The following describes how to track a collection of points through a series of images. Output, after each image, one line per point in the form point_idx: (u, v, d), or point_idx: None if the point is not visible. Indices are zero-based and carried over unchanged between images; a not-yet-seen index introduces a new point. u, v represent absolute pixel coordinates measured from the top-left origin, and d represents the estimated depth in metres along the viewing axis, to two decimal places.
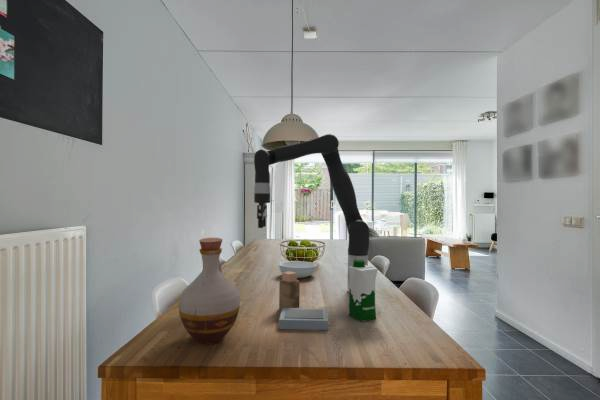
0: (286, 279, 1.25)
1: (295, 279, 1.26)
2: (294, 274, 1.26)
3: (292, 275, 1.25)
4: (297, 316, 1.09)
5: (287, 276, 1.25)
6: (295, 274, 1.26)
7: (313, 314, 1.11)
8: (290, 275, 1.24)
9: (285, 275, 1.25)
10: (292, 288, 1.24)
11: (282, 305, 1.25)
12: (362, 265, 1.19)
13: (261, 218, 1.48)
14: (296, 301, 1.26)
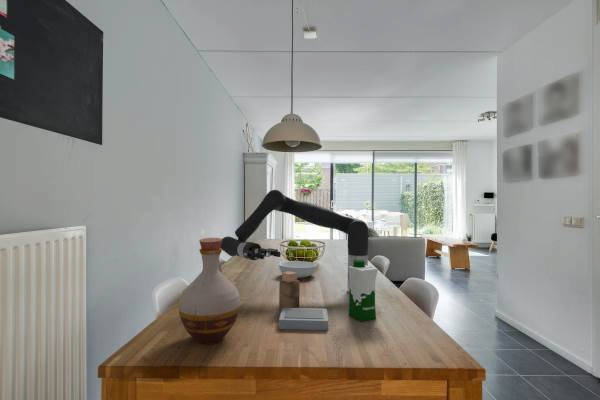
0: (286, 279, 1.25)
1: (295, 279, 1.26)
2: (294, 274, 1.26)
3: (292, 275, 1.25)
4: (297, 316, 1.09)
5: (287, 276, 1.25)
6: (295, 274, 1.26)
7: (313, 314, 1.11)
8: (290, 275, 1.24)
9: (285, 275, 1.25)
10: (292, 288, 1.24)
11: (282, 305, 1.26)
12: (362, 265, 1.19)
13: (252, 253, 1.34)
14: (296, 301, 1.26)
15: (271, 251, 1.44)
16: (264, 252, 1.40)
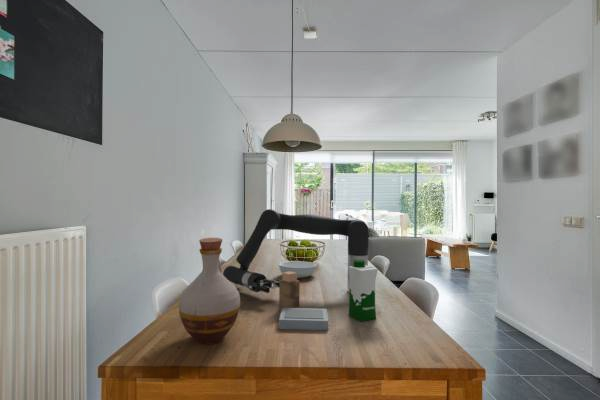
0: (286, 279, 1.25)
1: (295, 279, 1.26)
2: (294, 274, 1.26)
3: (292, 275, 1.25)
4: (297, 316, 1.09)
5: (287, 276, 1.25)
6: (295, 274, 1.26)
7: (313, 314, 1.11)
8: (290, 275, 1.24)
9: (285, 275, 1.25)
10: (292, 288, 1.24)
11: (282, 305, 1.25)
12: (362, 265, 1.19)
13: (257, 287, 1.31)
14: (296, 301, 1.26)
15: None
16: (269, 284, 1.37)
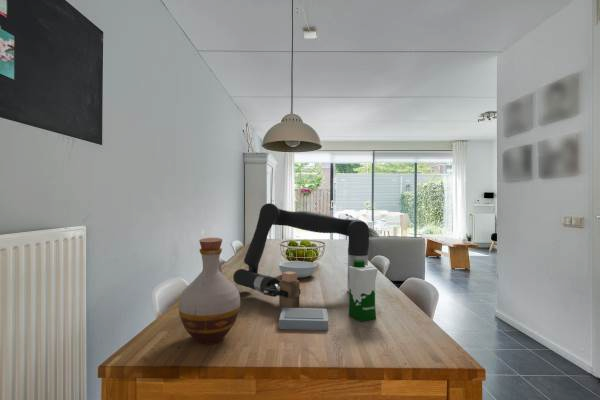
0: (286, 279, 1.25)
1: (295, 279, 1.26)
2: (294, 274, 1.26)
3: (292, 275, 1.25)
4: (297, 316, 1.09)
5: (287, 276, 1.25)
6: (295, 274, 1.26)
7: (313, 314, 1.11)
8: (290, 275, 1.24)
9: (285, 275, 1.25)
10: (292, 288, 1.24)
11: (282, 304, 1.25)
12: (362, 265, 1.19)
13: (275, 291, 1.24)
14: (296, 301, 1.26)
15: None
16: None
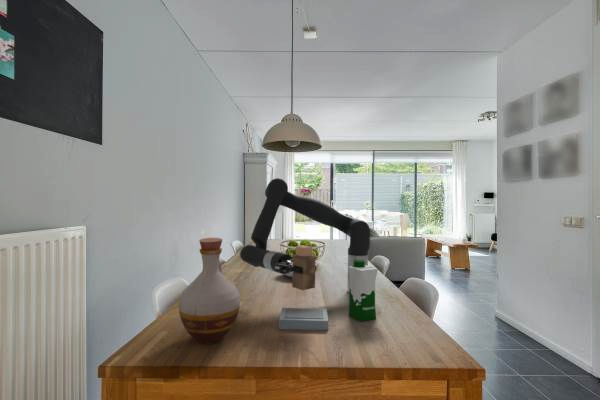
0: (300, 253, 1.11)
1: (310, 254, 1.12)
2: (309, 248, 1.12)
3: (307, 249, 1.11)
4: (297, 316, 1.09)
5: (302, 250, 1.10)
6: (310, 248, 1.12)
7: (313, 314, 1.11)
8: (305, 249, 1.10)
9: (299, 249, 1.11)
10: (308, 264, 1.10)
11: (295, 282, 1.12)
12: (362, 265, 1.19)
13: (288, 267, 1.10)
14: (312, 278, 1.12)
15: None
16: None
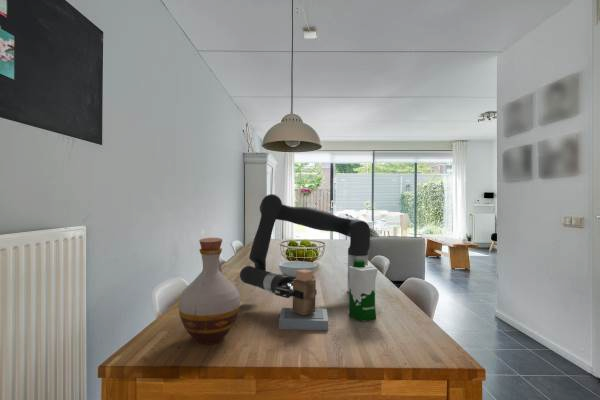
0: (301, 278, 1.11)
1: (311, 278, 1.12)
2: (310, 272, 1.11)
3: (307, 273, 1.11)
4: (297, 316, 1.09)
5: (302, 275, 1.10)
6: (311, 272, 1.12)
7: (313, 314, 1.11)
8: (305, 273, 1.10)
9: (300, 273, 1.11)
10: (308, 288, 1.10)
11: (295, 307, 1.11)
12: (362, 265, 1.19)
13: (289, 292, 1.10)
14: (312, 302, 1.11)
15: None
16: None
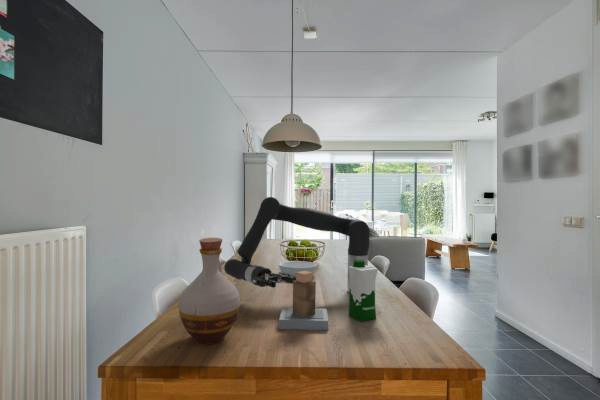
0: (301, 279, 1.11)
1: (311, 279, 1.12)
2: (309, 274, 1.12)
3: (307, 275, 1.11)
4: (297, 316, 1.09)
5: (302, 276, 1.10)
6: (311, 274, 1.12)
7: (313, 314, 1.11)
8: (305, 275, 1.10)
9: (299, 275, 1.11)
10: (308, 290, 1.10)
11: (295, 308, 1.11)
12: (362, 265, 1.19)
13: (262, 281, 1.20)
14: (312, 304, 1.11)
15: None
16: (275, 278, 1.26)
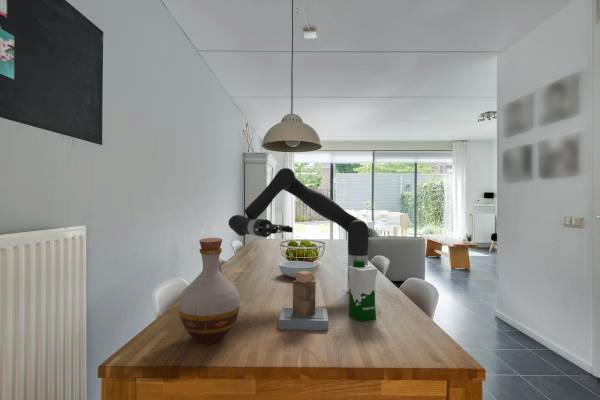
0: (301, 279, 1.11)
1: (311, 279, 1.12)
2: (309, 274, 1.12)
3: (307, 275, 1.11)
4: (297, 316, 1.09)
5: (302, 276, 1.10)
6: (311, 274, 1.12)
7: (313, 314, 1.11)
8: (305, 275, 1.10)
9: (299, 275, 1.11)
10: (308, 290, 1.10)
11: (295, 308, 1.11)
12: (362, 265, 1.19)
13: (264, 228, 1.29)
14: (312, 304, 1.11)
15: (282, 227, 1.40)
16: (276, 228, 1.36)
